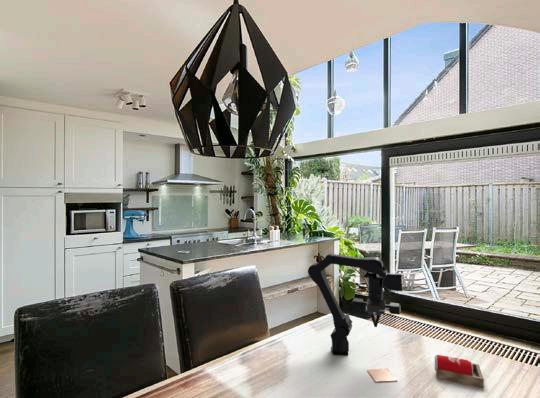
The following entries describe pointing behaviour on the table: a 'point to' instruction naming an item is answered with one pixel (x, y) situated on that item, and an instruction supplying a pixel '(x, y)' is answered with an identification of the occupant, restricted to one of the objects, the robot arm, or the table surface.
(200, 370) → the table surface
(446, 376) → the walnut corral
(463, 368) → the beverage can
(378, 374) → the terracotta tile
